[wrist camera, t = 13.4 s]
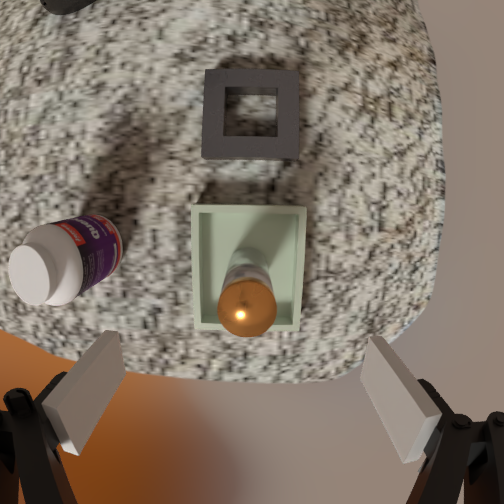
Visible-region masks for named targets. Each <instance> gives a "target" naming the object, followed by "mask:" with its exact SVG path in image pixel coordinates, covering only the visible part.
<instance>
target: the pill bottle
mask: <svg viewBox="0 0 504 504" xmlns="http://www.w3.org/2000/svg"><path fill="white" fill-rule="evenodd" d="M122 253H123V245H122V239H121V236H120V233H119V231H118V229H117V228H116V226H115V225H114V224H113V223H112V222H111V221H110V220H109V219H107V218H105V217H103V216H101V215H95V214H92V215H85V216H80V217H76V218H71V219H66V220H62V221H57V222H53V223H48V224H44V225H40V226H38V227H36V228H34V229H33V230H31V231H30V232H29V233H28V235H27V236H26V237H25V239H24V241H23V244H22V245H20V246H18V247H16V248H15V249H14V250H13V252H12V254H11V256H10V259H9V277H10V281H11V284H12V286H13V288H14V290H15V292H16V293H17V295H18V296H19V297H20V298H21V299H22V300H23V301H24V302H26V303H27V304H30V305H40V304H42V303H46V304H49V305H54V306H59V305H64V304H66V303H68V302H70V301H72V300H73V299H74V298H76V297H77V296H79V295H80V294H82V293H83V292H85V291H86V290H88V289H89V288H91V287H92V286H94V285H95V284H97V283H98V282H100V281H101V280H103V279H104V278H106V277H108V276H109V275H111V274H112V273H113V272H114V271H115V270H116V269H117V267H118V266H119V264H120V261H121V259H122Z"/></svg>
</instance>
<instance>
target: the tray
mask: <svg viewBox="0 0 504 504" xmlns="http://www.w3.org/2000/svg"><path fill="white" fill-rule="evenodd" d="M306 218H307V207H305V206H299V205H269V204H193V205H191V251H192V288H193V311H194V329H206V330H226V329H225V328H224V327H223V325H222V324H221V322H220V320H219V318H218V314H217V306H218V301H219V297H220V294H221V290H222V286H223V282H224V278H225V274H226V271H227V267H228V263H229V260H230V257H231V256H232V254H233V253H234V252H235V251H237V250H238V249H240V248H244V247H252V248H255V249H257V250H259V251H260V252H261V253H262V254H263V255H264V256H265V258H266V261H267V265H268V270H269V274H270V278H271V283H272V287H273V291H274V296H275V300H276V305H277V315H276V319H275V321H274V323H273V325H272V326H271V327H270V328H269V329H268V330H267V331H299V326H300V314H301V302H302V289H303V274H304V258H305V240H306Z"/></svg>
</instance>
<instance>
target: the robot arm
mask: <svg viewBox="0 0 504 504" xmlns="http://www.w3.org/2000/svg"><path fill="white" fill-rule="evenodd" d="M94 1H96V0H40V2H41V4H42V6H43V7H44V8H45V9H47V10H48V11H49V12H50V13H52V14H55V15H66V14H70V13H73V12H76V11H78V10H80V9H82V8H84V7H86V6H88V5H90V4H91V3H93V2H94ZM125 375H126V371H125V366H124V361H123V356H122V351H121V345H120V340H119V334H118V331H110V330H105V331H104V332H103V333H102V335H101V336H100V337H99V338H98V339H97V340H96V341H95V342H94V343H93V345H92V346H91V347H90V348H89V349H88V350H87V351H86V352H85V353H84V355H83V356H82V357H81V358H80V359H79V360H78V361H77V363H76V364H75V365H74V366H73V367H72V368H71V369H70V371H69V372H61V373H60V374H58V375H56V376H55V377H54V378H53V379H52V380H51V382H50V384H48V385H47V386H46V387H45V388H44V389H43V390H42V392H41V393H40V394H39V395H38V396H37V397H36V398H35V400H34V401H33V400H32V397H31V395H30V393H29V391H28V390H26V389H23V388H15V389H12V390H10V391H8V392H7V393H6V394H5V395H4V398H3V400H4V403H5V405H6V407H7V409H8V411H1V410H0V504H18V491H19V477H20V482H21V487H22V491H23V495H24V499H25V502H26V504H78V503H77V501H76V499H75V496H74V494H73V491H72V489H71V486H70V484H69V481H68V478H67V476H66V473H65V470H64V467H63V465H62V461H61V458H60V455H59V452H58V451H57V449H56V447H57V445H58V444H59V442H60V444H61V445H62V447H63V449H64V451H66V452H69V453H72V454H75V455H78V456H79V455H80V453H81V451H82V449H83V447H84V446H85V444H86V442H87V440H88V438H89V437H90V435H91V433H92V431H93V430H94V428H95V426H96V424H97V423H98V421H99V419H100V417H101V416H102V414H103V412H104V410H105V409H106V407H107V405H108V404H109V402H110V400H111V398H112V397H113V395H114V393H115V392H116V390H117V388H118V387H119V385H120V383H121V382H122V380H123V378H124V377H125ZM360 380H361V382H362V384H363V386H364V388H365V390H366V392H367V394H368V395H369V397H370V399H371V401H372V403H373V405H374V407H375V409H376V411H377V413H378V415H379V417H380V419H381V421H382V423H383V425H384V427H385V429H386V431H387V433H388V435H389V437H390V438H391V441H392V443H393V445H394V447H395V449H396V451H397V452H398V455H399V457H400V459H401V461H402V463H403V464H405V463H408V462H412V461H416V460H418V459H419V458H420V456H421V454H422V452H423V451H424V452H425V454H426V456H427V457H426V459H425V461H424V462H423V464H422V466H421V467H420V469H419V470H418V472H420V473H419V475H418V478H417V480H416V483H415V485H414V487H413V489H412V492H411V494H410V496H409V498H408V500H407V502H406V504H456V503H457V500H458V497H459V493H460V490H461V486H462V483H463V479H464V504H504V413H503V412H498V411H496V412H493V413H491V414H490V415H489V416H488V418H487V420H486V421H484V422H483V421H482V422H472V420H471V419H470V418H469V417H468V416H466V415H463V414H454V412H453V411H452V410H451V408H450V407H449V406H448V404H447V403H446V402H445V401H444V399H443V398H442V397H440V394H439V393H438V392H436V389H435V388H434V387H433V386H432V385H431V384H430V383H429V382H427V381H426V380H424V379H419V380H416V378H415V377H414V376H413V374H412V373H411V372H410V371H409V369H408V368H407V367H406V365H405V364H404V363H403V362H402V361H401V359H400V358H399V357H398V355H397V354H396V353H395V352H394V350H393V349H392V348H391V347H390V345H389V344H388V343H387V342H386V340H385V339H384V338H383V337H382V336H374V337H369V339H368V344H367V349H366V354H365V359H364V363H363V368H362V373H361V377H360Z"/></svg>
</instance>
